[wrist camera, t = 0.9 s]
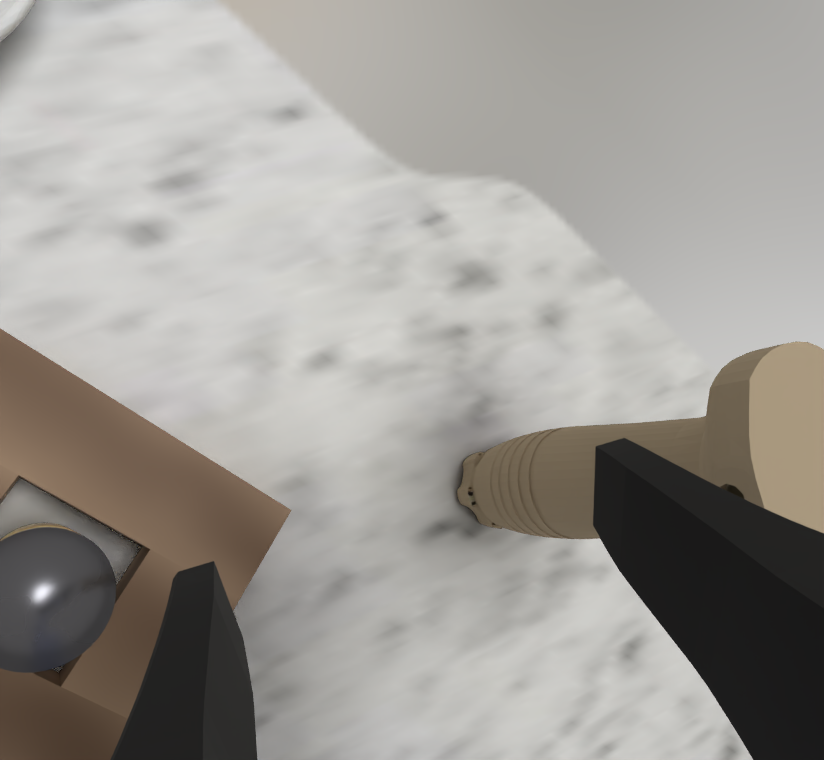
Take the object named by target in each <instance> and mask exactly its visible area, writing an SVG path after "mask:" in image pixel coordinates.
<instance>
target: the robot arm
mask: <svg viewBox="0 0 824 760" xmlns="http://www.w3.org/2000/svg"><path fill="white" fill-rule="evenodd" d="M593 526H594V528H595V530H596V532H597V533H598V535H599V537H600V539H601V540H602V542H603V544H604V546H605V547H606V549H607V551H608V553H609V554H610V556H611V557H612V559H613V561H614V562H615V564H616V566H617V567H618V569H619V571H620V572H621V573H622V575H623V576H624V577H625V579H626V580H627V581H628V583H629V584H630V585H631V587H632V588H633V589H634V590H635V592H636V593H637V594H638V596H639V597H640V598H641V600H642V601H643V602H644V603H645V605H646V606H647V607H648V609H649V610H650V611H651V612H652V614H653V615H654V616H655V618H656V619H657V620H658V621H659V623H660V624H661V625H662V627H663V628H664V629H665V630H666V632H667V633H668V634H669V635H670V637H671V638H672V639H673V641H674V642H675V643H676V644H677V646H678V647H679V648H680V650H681V651H682V652H683V653H684V655H685V656H686V657H687V659H688V660H689V661H690V662H691V664H692V665H693V666H694V668H695V669H696V671H697V672H698V673H699V675H700V676H701V678H702V679H703V680H704V682H705V683H706V684H707V686H708V687H709V689H710V690H711V692H712V694H713V695H714V697H715V698H716V700H717V702H718V703H719V705H720V706H721V708H722V709H723V711H724V713H725V714H726V716H727V717H728V719H729V720H730V722H731V724H732V725H733V727H734V728H735V730H736V731H737V733H738V735H739V736H740V738H741V740H742V741H743V743H744V745H745V746H746V748H747V750H748V751H749V753H750V755H751V756H752V758H753V760H824V533H822V532H819V531H817V530H814V529H811V528H809V527H806V526H804V525H801V524H799V523H796V522H794V521H792V520H789V519H787V518H785V517H782V516H780V515H778V514H776V513H773V512H771V511H769V510H767V509H764V508H762V507H760V506H758V505H755V504H753V503H751V502H749V501H747V500H745V499H743V498H741V497H739V496H736V495H734V494H732V493H730V492H728V491H726V490H724V489H722V488H720V487H718V486H716V485H714V484H712V483H710V482H708V481H706V480H705V479H703V478H701V477H699V476H697V475H695V474H693V473H691V472H689V471H687V470H685V469H684V468H682V467H680V466H678V465H676V464H674V463H672V462H670V461H668V460H667V459H665V458H663V457H661V456H659V455H657V454H655V453H653V452H652V451H650V450H648V449H646V448H644V447H642V446H640V445H638V444H636V443H634V442H632V441H630V440H628V439H626V438H622V439H618V440H615V441H612V442H608V443H605V444H602V445H598V446H596V448H595V478H594V509H593ZM110 760H257V748H256V732H255V717H254V702H253V692H252V686H251V680H250V674H249V669H248V663H247V657H246V652H245V646H244V641H243V637H242V634H241V632H240V629H239V626H238V624H237V621H236V618H235V616H234V613H233V610H232V608H231V605H230V602H229V600H228V597H227V594H226V591H225V589H224V586H223V583H222V581H221V578H220V575H219V573H218V570H217V567H216V565H215V562H214V561H212V562H209V563H205V564H202V565H199V566H195V567H192V568H189V569H185V570H182V571H179V572H177V574H176V575H175V577H174V578H173V581H172V586H171V591H170V595H169V599H168V603H167V606H166V610H165V614H164V617H163V621H162V624H161V628H160V631H159V634H158V637H157V641H156V644H155V647H154V650H153V653H152V656H151V658H150V661H149V664H148V667H147V670H146V673H145V676H144V679H143V681H142V684H141V687H140V690H139V692H138V695H137V698H136V700H135V702H134V705H133V707H132V710H131V712H130V715H129V717H128V719H127V722H126V724H125V727H124V729H123V732H122V734H121V737H120V739H119V741H118V744H117V746H116V748H115V750H114V753H113V755H112V757H111V759H110Z"/></svg>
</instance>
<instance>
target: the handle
mask: <svg viewBox="0 0 824 760" xmlns="http://www.w3.org/2000/svg"><path fill="white" fill-rule="evenodd" d="M622 438H626V439H628V440H630V441H632V442H634V443H636V444H638V445H640V446H642V447H644V448H646V449H648V450H650V451H652V452H653V453H655V454H657V455H659V456H661V457H663V458H665V459H667V460H668V461H670V462H672V463H674V464H676V465H678V466H680V467H682V468H684V469H685V470H687V471H689V472H691V473H693V474H695V475H697V476H699V477H701V478H703V479H705V480H706V481H708V482H710V483H712V484H714V485H716V486H718V487H720V488H722V489H724V490H726V491H728V492H730V493H732V494H734V495H736V496H739V497H741V498H743V499H745V500H747V501H749V502H751V503H753V504H755V505H758V506H760V507H762V508H764V509H767V510H769V511H771V512H773V513H776V514H778V515H780V516H782V517H785V518H787V519H789V520H792V521H794V522H796V523H799V524H801V525H804V526H806V527H809V528H811V529H814V530H817V531H819V532H822V533H824V350H823V349H822V348H820V347H818V346H816V345H813V344H811V343H808V342H792V343H787V344H782V345H777V346H773V347H769V348H765V349H760V350H756V351H752V352H749V353H746V354H744V355H742V356H740V357H738V358H736V359H734V360H732V361H731V362H729V363H728V364H727V365H726V366H724V367H723V368H722V369H721V371H720V372H719V373H718V375H717V376H716V378H715V380H714V382H713V383H712V385H711V387H710V392H709V399H708V406H707V414H706V416H705V417H701V418H691V419H679V420H667V421H655V422H643V423H629V424H611V425H593V426H575V427H565V428H557V429H550V430H544V431H539V432H535V433H531V434H528V435H524V436H520V437H517V438H514V439H511V440H509V441H506V442H504V443H502V444H499V445H497V446H495V447H493V448H491V449H489V450H487V451H486V452H483V453H482V452H478V453H475V454H472V455H470V456H468V457H467V458H466V459H465V461H464V462H463V465H462V466H463V479H462V483H461V486H460V488H458V490H457V495H458V499H459V502H460V503H461V505H463V506H467V507H468V508H470V509H471V510H472V511H473V512H474V513H475V515H476V516H477V519H478V521H479V522H480V524H483V525H486V526H489V527H494V528H500V529H502V527H504V528H506V529H509V530H513V531H516V532H520V533H524V534H530V535H536V536H542V537H551V538H566V539H593V538H600V537H599V535H598V533H597V532H596V530H595V528H594V526H593V509H594V478H595V448H596V446H598V445H602V444H605V443H608V442H612V441H615V440H618V439H622Z"/></svg>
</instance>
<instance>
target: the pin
mask: <svg viewBox="0 0 824 760" xmlns="http://www.w3.org/2000/svg"><path fill="white" fill-rule="evenodd" d="M115 598H116V582H115V576H114V573H113V569H112V567H111V565H110V562H109V560H108V559H107V557H106V556H105V554H104V553H103V552H102V551H101V549H100V548H99V547H98V546H97V545H96V544H94V543H93V542H92V541H91V540H89V539H87V538H86V537H84V536H82V535H81V534H79V533H77V532H75V531H73V530H71V529H69V528H67V527H65V526H62V525H59V524H53V523H35V524H30V525H26V526H23V527H20V528H18V529H16V530H14V531H12V532H10V533H9V534H7V535H6V536H4V537H3V538H2V539H1V540H0V668H1V669H4V670H8V671H13V672H21V673H32V672H40V671H46V670H50V669H53V668H56V667H59V666H61V665H64V664H66V663H68V662H70V661H72V660H73V659H75V658H76V657H78V656H79V655H81V654H82V653H84V652H85V651H86V650H87V649H88V648H89V647H91V645H92V644H93V643H94V642H95V641H96V640H97V639H98V638H99V636H100V635H101V634H102V632H103V631H104V629H105V627H106V626H107V624H108V622H109V620H110V617H111V615H112V612H113V608H114V605H115Z"/></svg>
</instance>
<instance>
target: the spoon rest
mask: <svg viewBox="0 0 824 760" xmlns="http://www.w3.org/2000/svg"><path fill="white" fill-rule="evenodd" d="M35 1H36V0H0V42H1V41H2V40H3V39H5V38H6V37H7V36H8V35H9V34H10V33H12V32H13V31H14V30H15V29H16V27H17V26H18V25H19V24H20V23H21V21H22V20H23V19H24V18H25V17H26V16H27V14H28V13H29V11H30V10H31V8H32V6H33V5H34V3H35Z"/></svg>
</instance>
